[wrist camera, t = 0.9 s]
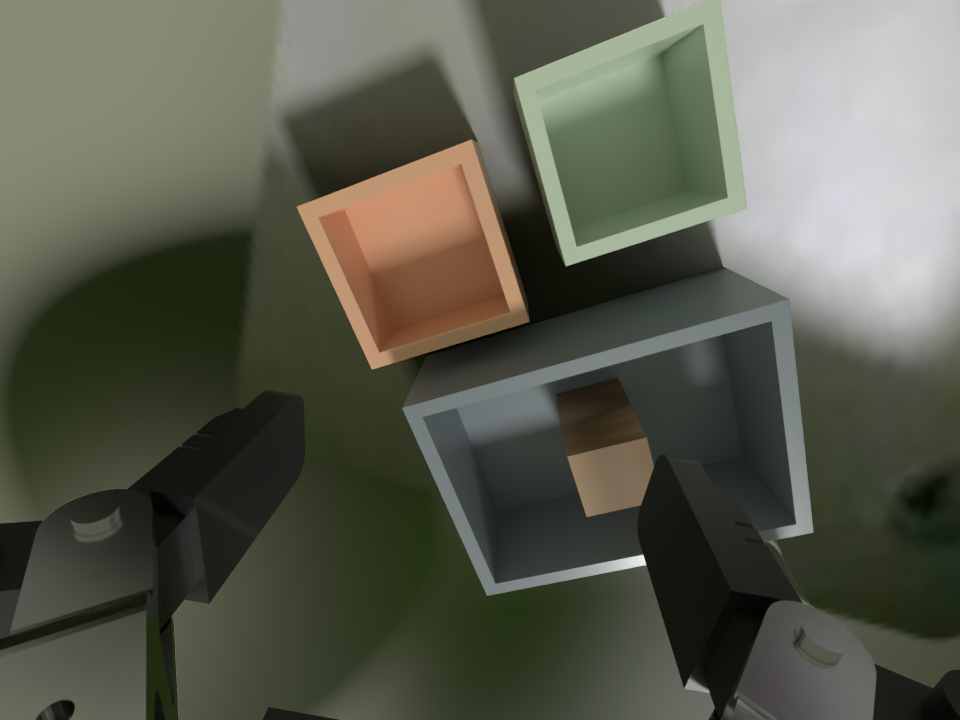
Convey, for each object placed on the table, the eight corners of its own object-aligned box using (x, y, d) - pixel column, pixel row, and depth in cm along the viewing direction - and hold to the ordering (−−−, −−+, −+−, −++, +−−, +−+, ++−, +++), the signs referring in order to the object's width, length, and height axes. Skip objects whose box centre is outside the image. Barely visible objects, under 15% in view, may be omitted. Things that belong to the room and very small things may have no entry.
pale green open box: (670, 35, 23) (719, -6, 17) (697, 198, 26) (747, 208, 20) (513, 97, 24) (513, 77, 19) (555, 245, 27) (565, 266, 22)
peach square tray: (478, 143, 25) (471, 139, 21) (527, 298, 28) (529, 321, 24) (329, 200, 27) (296, 206, 23) (391, 341, 30) (372, 369, 26)
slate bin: (723, 266, 27) (788, 299, 21) (752, 457, 32) (813, 532, 25) (425, 356, 30) (402, 408, 24) (492, 516, 35) (487, 595, 29)
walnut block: (617, 377, 29) (646, 437, 23) (631, 430, 31) (662, 500, 24) (555, 394, 30) (567, 456, 24) (571, 444, 32) (586, 517, 25)
